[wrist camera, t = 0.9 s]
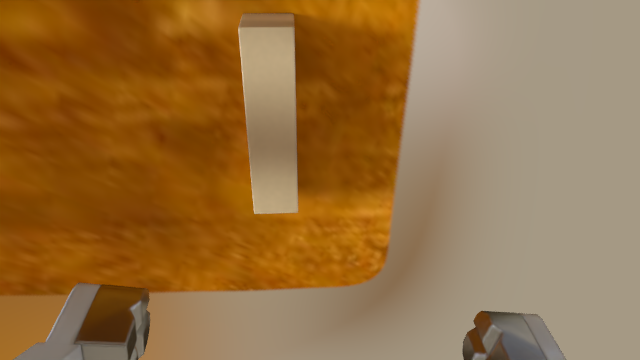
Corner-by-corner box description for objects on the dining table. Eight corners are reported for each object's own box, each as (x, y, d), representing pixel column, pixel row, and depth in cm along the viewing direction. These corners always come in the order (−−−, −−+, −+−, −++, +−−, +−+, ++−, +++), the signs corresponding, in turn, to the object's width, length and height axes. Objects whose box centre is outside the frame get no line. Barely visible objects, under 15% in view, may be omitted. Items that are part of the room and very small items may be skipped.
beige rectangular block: (242, 13, 22) (237, 27, 20) (293, 13, 22) (294, 26, 20) (256, 189, 27) (253, 214, 25) (297, 188, 27) (298, 213, 25)
